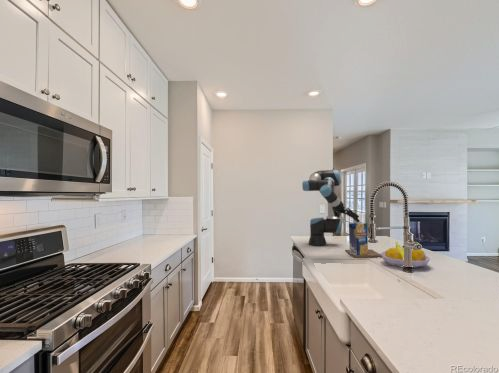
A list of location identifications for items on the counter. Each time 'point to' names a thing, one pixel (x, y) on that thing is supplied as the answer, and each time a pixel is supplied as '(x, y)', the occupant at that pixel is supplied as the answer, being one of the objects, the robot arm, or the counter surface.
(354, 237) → the blue cardboard box
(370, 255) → the walnut board
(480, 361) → the counter surface
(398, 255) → the fruit bowl
